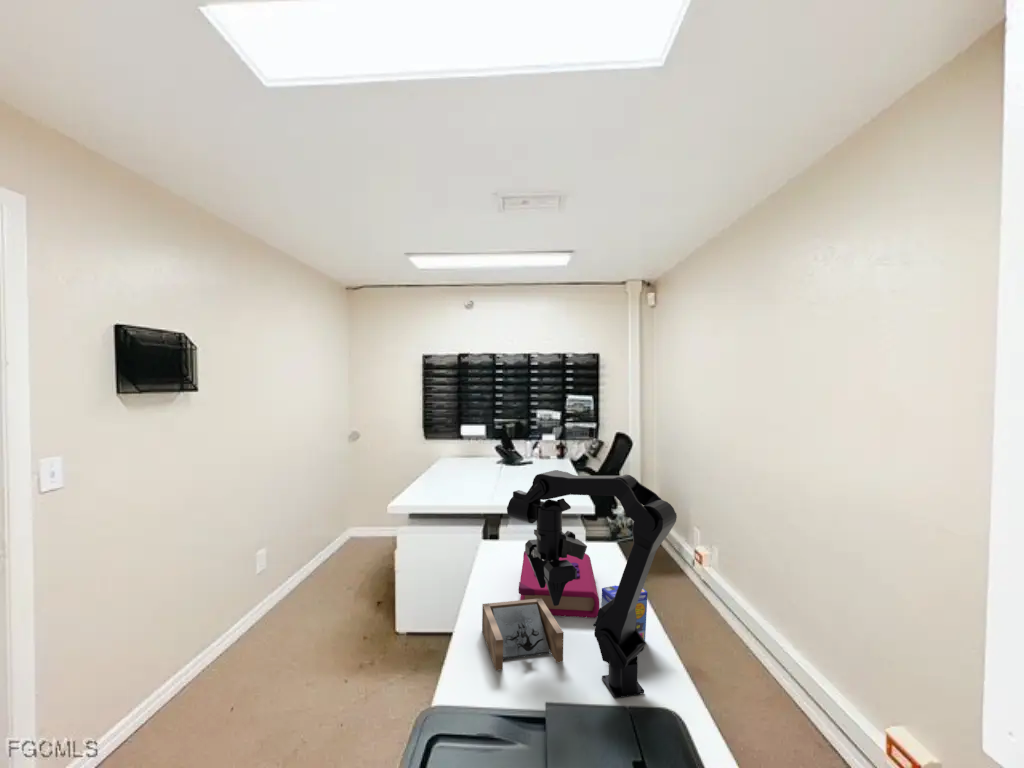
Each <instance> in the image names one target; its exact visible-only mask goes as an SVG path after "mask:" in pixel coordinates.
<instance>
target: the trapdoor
mask: <svg viewBox="0 0 1024 768" xmlns="http://www.w3.org/2000/svg"><path fill="white" fill-rule="evenodd" d="M492 611H493V616H494V618H495V621H496V623H497V626H498V628H499V630H500V633H501V635H502V638H503V660H507V659H516V658H517V659H518V658H523V657H524V656H525V657H532V656H531V655H533V656H539V654H541V655H547V654H550V653H551V652H550V650H549V647H548V643H547V640H546V636H545V632H544V629H543V625H542V621H541V618H540V614H539V610H538V607H537V604H533V605H524V606H514V607H504V608H494V609H493V610H492ZM518 624H519V625H520V627H522V624H523V625H524V626H525V628H523V627H522V630H521V628H520V629H519V627H518ZM525 629H526V633H527V635H528V637H529V636H530V637H529V640H530V643H532V646H533V645H534V644H535V643H536V642H537V641H538V640H540V639H544V640H542V641H540V642H539V643H538V644H537V645H536V646H535V647H534V648H533V649H532V650H531V651H526V650H525V649H524V648H523V647H520V648H518V647H519V646H521V645H518V646H517V644H518V643H521V644H522V645H523V644H525V643H526V641H527V640H526V637H524V638H522V637H521V632H522V634H523V633H524V630H525ZM532 629H534V634H538V632H539V635H537V636H533V635H532ZM517 631H518V632H519V637H517V638H516V639H514V640H512V641H511V640H507V639H513V638H514V637H516V636H517ZM536 631H537V632H536ZM506 636H507V637H506ZM512 637H513V638H512ZM506 638H507V639H506ZM517 639H518V640H517ZM531 639H532V640H531Z"/></svg>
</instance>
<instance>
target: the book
mask: <svg viewBox="0 0 1024 768" xmlns="http://www.w3.org/2000/svg"><path fill="white" fill-rule="evenodd" d="M559 560H568V561H569V562H570V563H571V564H572V565H573V566H574V567H575V568H576V569H577V578H576V579H573V581H569V582H568V583H567V584H566V585H565V587H564V590H563V593H562V596H561V599H560V602H559V605H558V606H554V605H553V602H552V600H551V597H550V594H549V591H548V588H547V585H545V588H540V586H539V583H538V581H537V578H536V576H535V573H534V571H533V568H532V566H531V564H530V561H529V559H528V557H527V553H526V552H525V550H524V551H523V561H522V566H521V567H522V568H521V571H520V572H521V573H520V580H519V583H518V594H519V595H520V596H519V597H520V598H519V600H528V599H538V598H542V600H543V601H544V603H545V604H546V606H547V608H548V609H549V611H550V612H551V614H552V615H553V617H569V618H570V617H571V618H585V617H587V619H588V618H589V619H595V618H596V619H597V616H598V611H599V609H600V598H599V592H598V589H597V584H596V583H597V582H596V579H595V574H594V570H593V564H592V561H591V556H590V555H589V554H587V553H586V552H585V555H584V558H583V560H581V559H578V558H577V557H574V556H570V555H567V558H561V557H560V558H559Z"/></svg>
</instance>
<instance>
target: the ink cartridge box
mask: <svg viewBox="0 0 1024 768" xmlns="http://www.w3.org/2000/svg"><path fill="white" fill-rule="evenodd" d="M618 586H619V585H615V584H614V585H611V586H607V587H606V586H605V587H602V588H601V603H600V605H601V607H603V606H604V605H606V604H607V603H608V602H610V601H611V600H613V599H614V598H615V595H616V592H617V589H618ZM648 594H649V593H648V591H647V590H646V589H644V588H643V589H642V591H641V594H640V597H639V600H638V602H637V605H636V609H635V611H636V618H637V621H636V627H635V628H636V630H637V631H638V633H639V634H640V635H641V637H642V638H643V640H644V641H645V642H646V630H647V611H648V610H647V609H648ZM601 607H600V608H601Z"/></svg>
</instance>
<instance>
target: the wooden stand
mask: <svg viewBox="0 0 1024 768" xmlns="http://www.w3.org/2000/svg"><path fill="white" fill-rule="evenodd" d="M533 604H537V607H538V610H539V614H540V618H541V621H542V625H543V629H544V632H545V636H546V640H547V643H548V647H549V651H550V652H549V653H552V654H551V655H552V657H553V659H554V661H555V662H556V663H563V662H564V630H562V628H561V626H560V624H559V623H558V622H557V620H556V619H555V616H553V615H552V614H551V612H550V611H549V609H548V608H547V606H546V604H545V603H544V601H543V600H542V598H538V599H528V600H520V599H519V600H509V601H500V602H488V603H482V607H481V608H482V619H481V623H482V624H481V627H482V628H481V630H482V633H483V637H484V639H485V643H486V645H487V648H488V652H489V655H490V657H491V660H492V664H493V665H494V666H493V668H494V669H495V671H496V672H497V671H501V670H502V671H503V669H504V667H503V666H504V665H503V664H504V659H503V638H502V635H501V633H500V630H499V628H498V626H497V623H496V621H495V618H494V616H493V611H492V610H493V609H494V608H504V607H514V606H524V605H533Z"/></svg>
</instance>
